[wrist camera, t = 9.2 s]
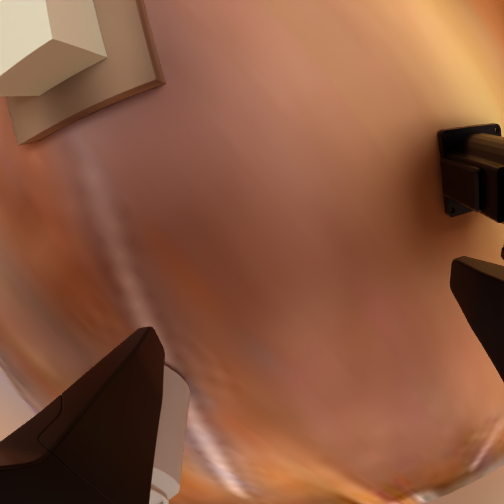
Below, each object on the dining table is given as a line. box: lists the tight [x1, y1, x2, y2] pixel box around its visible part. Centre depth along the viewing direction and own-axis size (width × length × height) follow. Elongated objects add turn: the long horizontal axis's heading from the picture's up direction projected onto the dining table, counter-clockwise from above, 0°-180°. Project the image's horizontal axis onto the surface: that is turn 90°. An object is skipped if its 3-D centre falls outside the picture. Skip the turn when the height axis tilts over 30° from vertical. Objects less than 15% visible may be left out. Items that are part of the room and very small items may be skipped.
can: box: [149, 365, 190, 504], centre depth 21 cm, size 8×8×12 cm
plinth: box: [6, 0, 166, 146], centre depth 15 cm, size 10×10×3 cm
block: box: [0, 0, 107, 97], centre depth 11 cm, size 5×5×6 cm
